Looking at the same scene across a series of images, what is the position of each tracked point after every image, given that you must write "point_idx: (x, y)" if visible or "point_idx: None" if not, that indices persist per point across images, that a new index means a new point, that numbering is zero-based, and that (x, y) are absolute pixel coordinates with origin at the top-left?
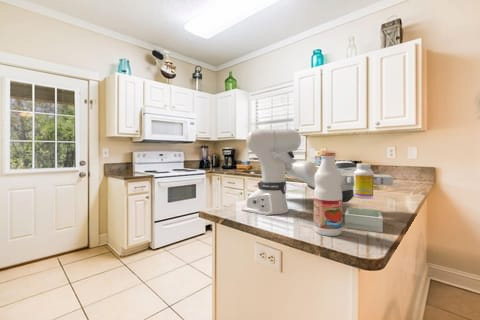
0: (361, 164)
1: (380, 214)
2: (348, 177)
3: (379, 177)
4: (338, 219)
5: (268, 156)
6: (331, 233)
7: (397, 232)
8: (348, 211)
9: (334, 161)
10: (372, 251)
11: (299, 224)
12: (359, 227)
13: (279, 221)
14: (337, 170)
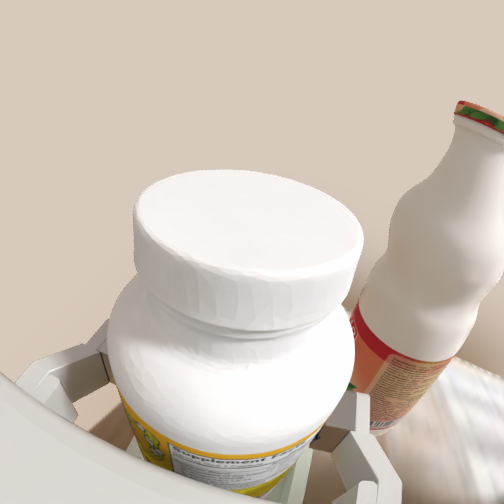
0: (298, 185)
1: (135, 442)
2: (385, 459)
3: (16, 387)
4: None
5: None
6: None
7: (107, 417)
8: (290, 488)
9: (450, 145)
10: None
11: (447, 442)
12: None
13: (498, 445)
14: (422, 182)
